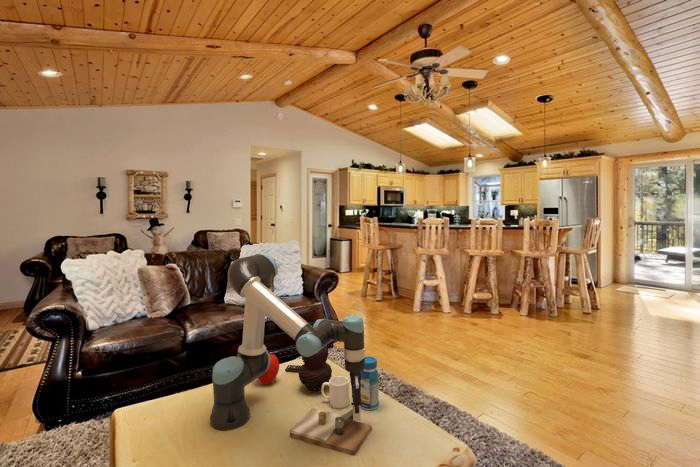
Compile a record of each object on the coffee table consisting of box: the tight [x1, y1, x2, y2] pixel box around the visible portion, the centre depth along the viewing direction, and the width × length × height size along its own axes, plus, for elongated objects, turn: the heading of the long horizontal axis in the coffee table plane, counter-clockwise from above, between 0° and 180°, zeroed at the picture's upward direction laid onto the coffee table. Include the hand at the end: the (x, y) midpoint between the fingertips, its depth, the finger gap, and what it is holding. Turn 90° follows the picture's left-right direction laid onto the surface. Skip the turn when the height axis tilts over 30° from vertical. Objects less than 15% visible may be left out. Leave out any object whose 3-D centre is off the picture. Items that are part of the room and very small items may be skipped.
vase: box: [297, 321, 333, 393], centre depth 173 cm, size 15×15×30 cm
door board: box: [289, 407, 373, 456], centre depth 141 cm, size 26×16×7 cm, turn 65°
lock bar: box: [335, 408, 353, 435], centre depth 142 cm, size 12×3×5 cm, turn 141°
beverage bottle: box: [360, 356, 380, 411], centre depth 159 cm, size 8×8×20 cm
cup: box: [320, 375, 350, 409], centre depth 161 cm, size 8×12×10 cm
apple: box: [257, 353, 280, 385], centre depth 181 cm, size 12×12×13 cm
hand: (356, 419), depth 142 cm, fingers closed
